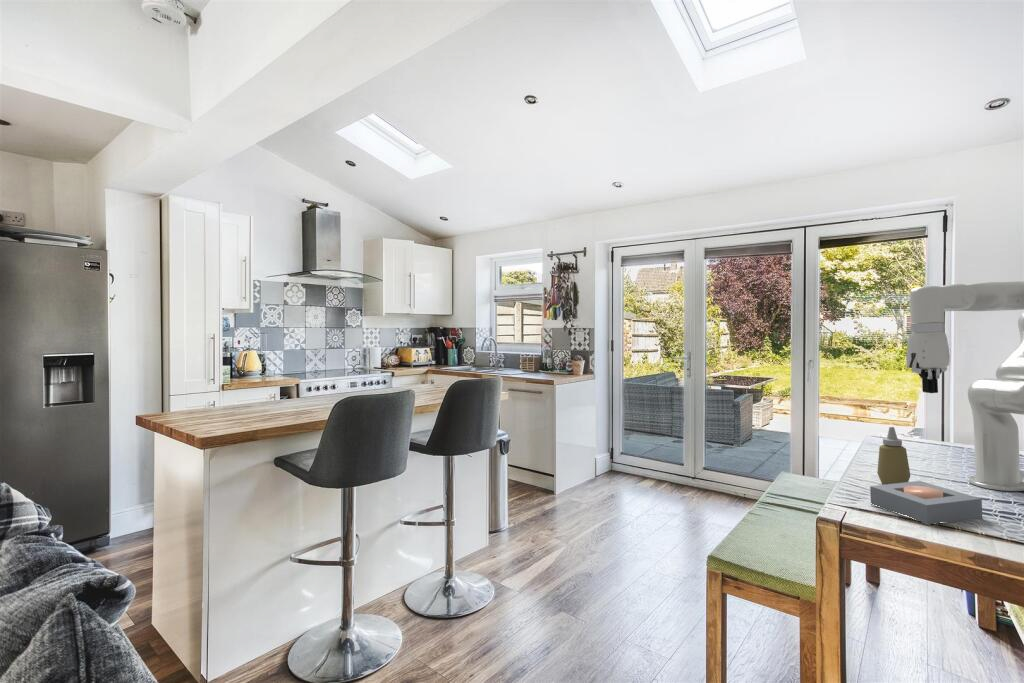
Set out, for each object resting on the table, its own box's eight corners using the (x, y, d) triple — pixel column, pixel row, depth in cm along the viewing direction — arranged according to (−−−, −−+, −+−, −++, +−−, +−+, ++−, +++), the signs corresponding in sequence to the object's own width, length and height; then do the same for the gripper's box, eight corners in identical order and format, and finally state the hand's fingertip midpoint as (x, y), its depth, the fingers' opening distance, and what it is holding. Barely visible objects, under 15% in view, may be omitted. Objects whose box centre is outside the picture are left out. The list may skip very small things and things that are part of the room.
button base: (920, 498, 140) (919, 480, 140) (982, 518, 124) (981, 498, 124) (870, 504, 138) (870, 486, 138) (927, 525, 122) (926, 505, 122)
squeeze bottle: (897, 491, 146) (895, 430, 146) (871, 484, 154) (868, 426, 154) (918, 488, 149) (915, 428, 148) (890, 481, 156) (888, 423, 156)
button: (922, 502, 135) (921, 484, 135) (952, 512, 128) (951, 493, 128) (896, 505, 134) (895, 487, 134) (925, 516, 126) (924, 496, 126)
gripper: (936, 328, 149) (939, 389, 149) (893, 330, 146) (895, 392, 147) (963, 327, 141) (965, 392, 141) (917, 330, 139) (920, 395, 139)
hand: (930, 392), depth 144 cm, fingers closed
